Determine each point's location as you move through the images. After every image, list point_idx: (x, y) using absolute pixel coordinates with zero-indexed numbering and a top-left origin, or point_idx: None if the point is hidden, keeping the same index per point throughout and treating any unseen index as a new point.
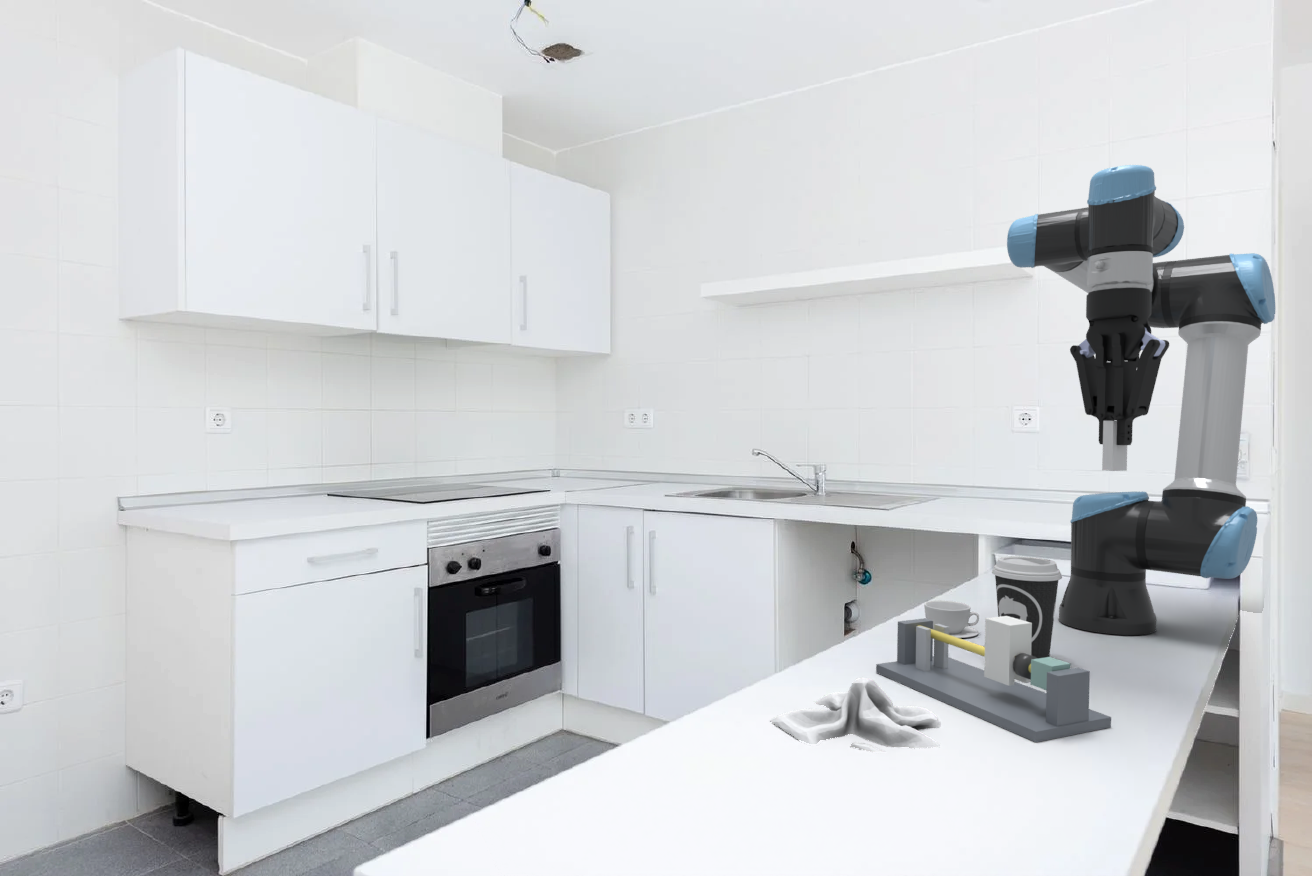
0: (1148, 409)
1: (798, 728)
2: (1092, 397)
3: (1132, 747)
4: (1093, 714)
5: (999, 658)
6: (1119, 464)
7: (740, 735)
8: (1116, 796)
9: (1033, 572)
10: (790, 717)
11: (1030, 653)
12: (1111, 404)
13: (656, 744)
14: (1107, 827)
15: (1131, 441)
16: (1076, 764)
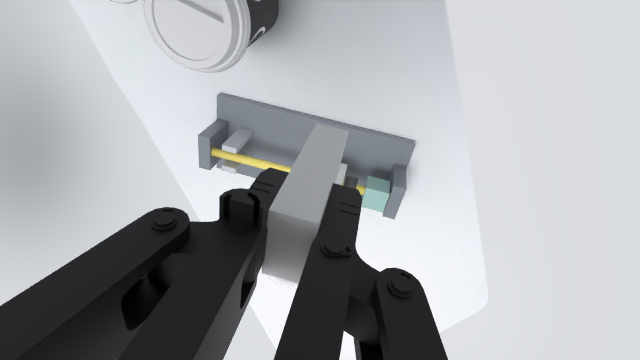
0: (426, 300)
1: (295, 288)
2: (137, 328)
3: (443, 169)
4: (401, 149)
5: None
6: (339, 165)
7: (279, 298)
8: (463, 247)
9: (230, 56)
10: (279, 279)
11: (343, 178)
12: (237, 299)
13: (269, 324)
14: (471, 280)
15: (361, 200)
16: (426, 222)
